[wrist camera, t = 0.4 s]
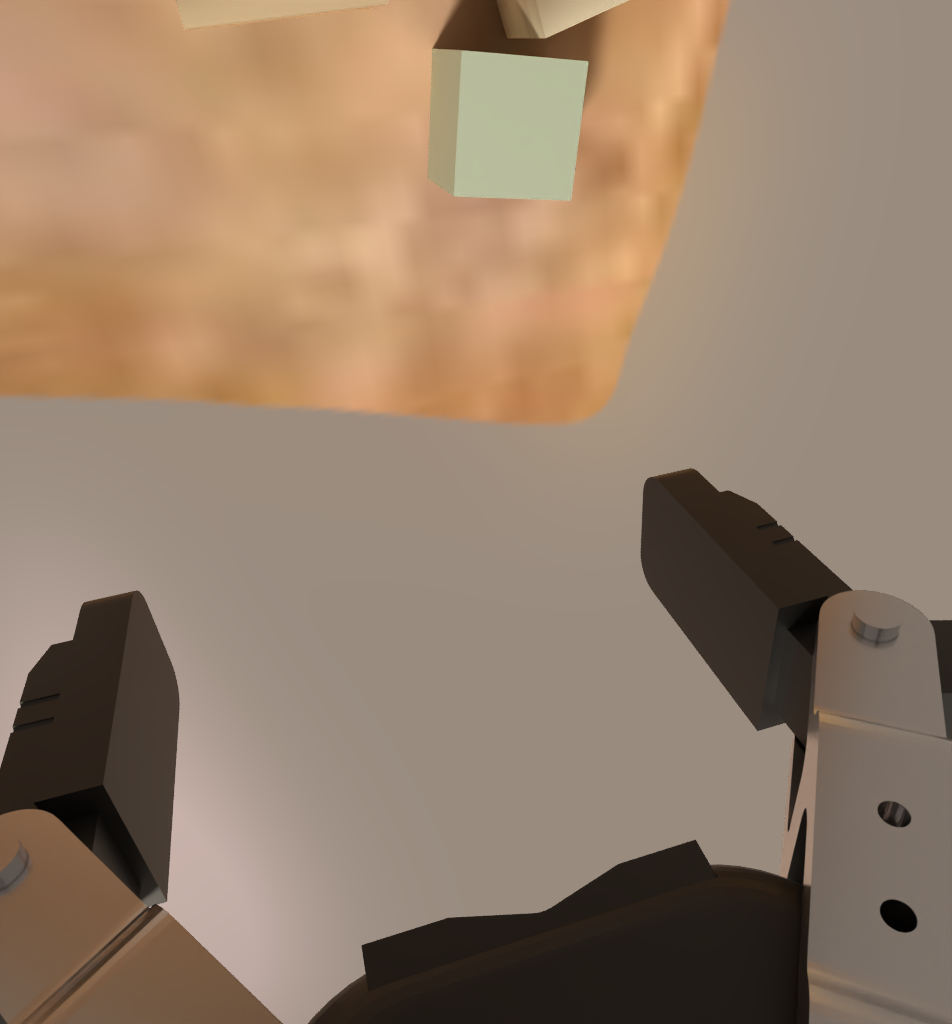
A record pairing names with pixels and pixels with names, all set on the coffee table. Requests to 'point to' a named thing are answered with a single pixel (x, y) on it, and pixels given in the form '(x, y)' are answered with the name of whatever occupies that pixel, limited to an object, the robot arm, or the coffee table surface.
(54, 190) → the coffee table surface
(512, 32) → the beech block
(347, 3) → the oak base
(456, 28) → the coffee table surface
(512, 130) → the sage block
